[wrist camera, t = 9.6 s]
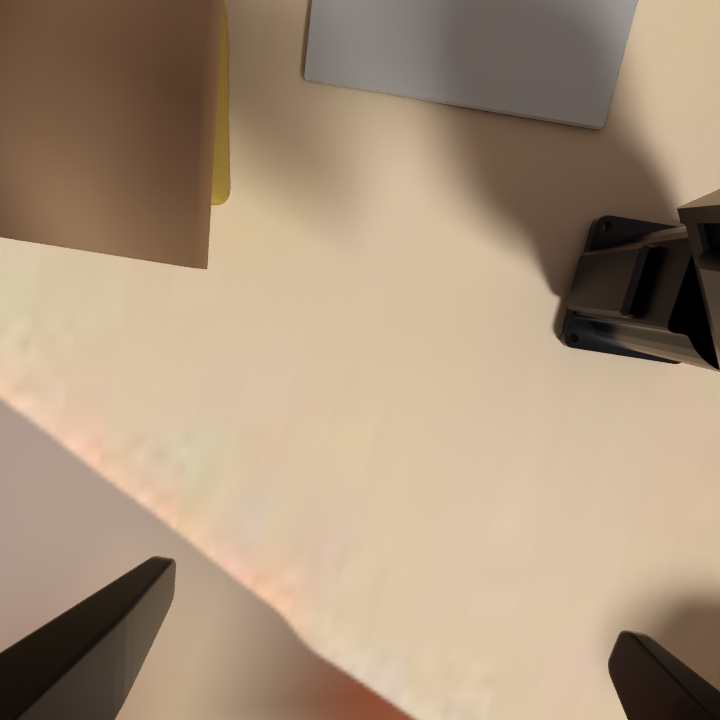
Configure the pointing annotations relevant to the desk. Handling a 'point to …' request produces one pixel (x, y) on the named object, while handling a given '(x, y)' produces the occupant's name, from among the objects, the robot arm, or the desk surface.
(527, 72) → the tray
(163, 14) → the lid
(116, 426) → the desk surface
